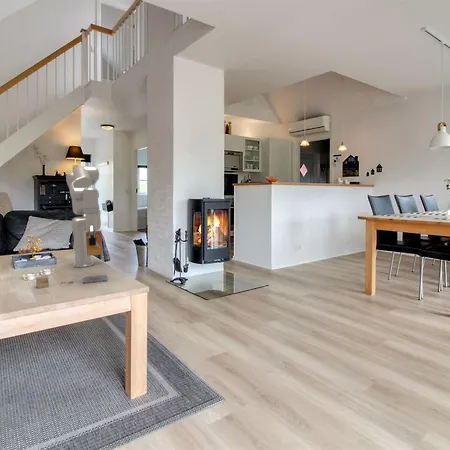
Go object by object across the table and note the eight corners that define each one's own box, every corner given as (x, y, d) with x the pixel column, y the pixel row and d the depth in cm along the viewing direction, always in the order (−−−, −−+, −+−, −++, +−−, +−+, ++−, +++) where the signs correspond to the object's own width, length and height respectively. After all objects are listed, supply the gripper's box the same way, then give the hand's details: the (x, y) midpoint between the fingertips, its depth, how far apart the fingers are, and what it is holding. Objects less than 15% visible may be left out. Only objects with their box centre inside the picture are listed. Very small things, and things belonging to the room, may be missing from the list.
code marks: (61, 282, 182) (61, 282, 182) (73, 281, 184) (73, 281, 184) (60, 283, 180) (60, 283, 180) (73, 282, 182) (73, 282, 182)
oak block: (36, 286, 176) (36, 276, 176) (47, 284, 179) (46, 275, 178) (37, 288, 172) (37, 278, 171) (49, 286, 175) (48, 277, 174)
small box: (86, 256, 181) (85, 231, 180) (84, 254, 186) (83, 230, 185) (102, 254, 186) (101, 230, 184) (99, 252, 191) (98, 229, 189)
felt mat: (84, 278, 191) (83, 276, 191) (106, 275, 195) (106, 274, 195) (82, 283, 180) (82, 282, 180) (107, 281, 184) (107, 280, 184)
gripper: (84, 210, 190) (86, 242, 192) (82, 212, 174) (84, 247, 176) (98, 210, 193) (100, 241, 195) (98, 212, 177) (100, 246, 178)
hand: (92, 243), depth 185 cm, fingers closed on small box, 7 cm apart
